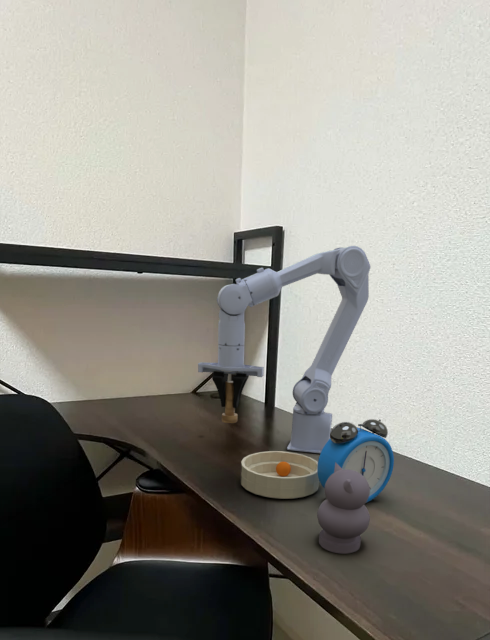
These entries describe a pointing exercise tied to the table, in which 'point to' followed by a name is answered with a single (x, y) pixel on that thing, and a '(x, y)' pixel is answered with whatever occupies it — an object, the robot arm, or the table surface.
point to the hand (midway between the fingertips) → (230, 406)
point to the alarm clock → (359, 454)
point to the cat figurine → (344, 511)
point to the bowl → (266, 481)
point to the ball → (283, 469)
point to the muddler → (229, 404)
